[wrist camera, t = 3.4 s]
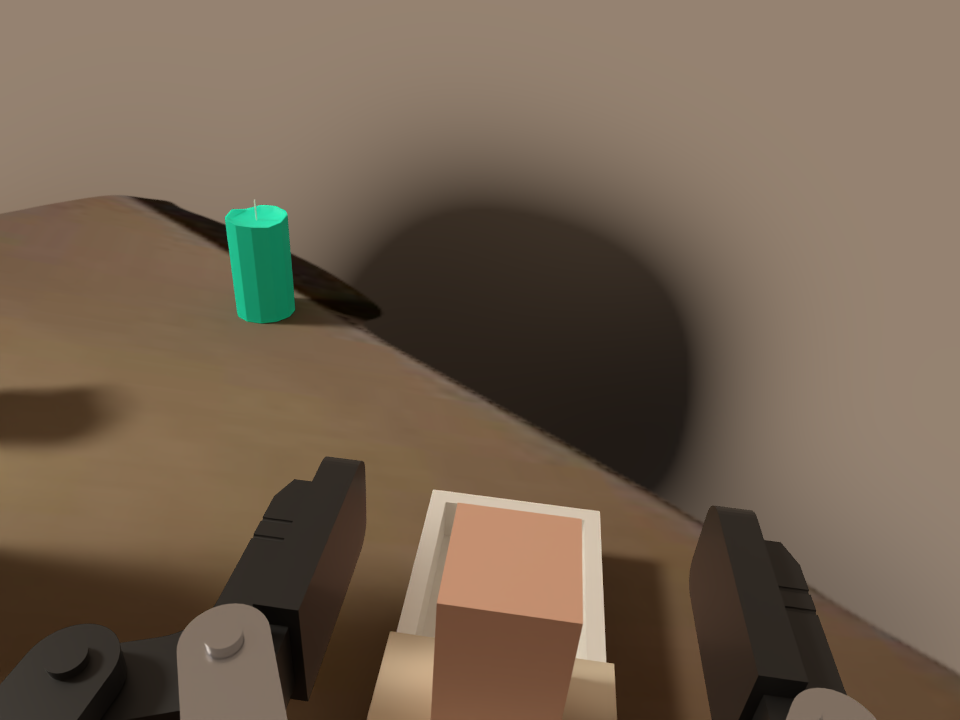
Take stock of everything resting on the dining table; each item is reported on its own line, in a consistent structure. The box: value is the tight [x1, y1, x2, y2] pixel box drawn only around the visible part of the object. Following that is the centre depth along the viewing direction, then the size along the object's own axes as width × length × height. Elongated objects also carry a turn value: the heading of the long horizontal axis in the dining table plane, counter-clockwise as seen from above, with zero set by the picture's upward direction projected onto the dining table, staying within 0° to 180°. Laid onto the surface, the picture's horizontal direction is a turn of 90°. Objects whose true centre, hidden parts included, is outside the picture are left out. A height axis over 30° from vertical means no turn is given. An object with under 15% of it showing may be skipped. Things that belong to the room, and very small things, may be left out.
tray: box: [397, 490, 606, 663], centre depth 42 cm, size 12×11×4 cm
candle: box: [225, 200, 295, 323], centre depth 71 cm, size 6×6×12 cm
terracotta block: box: [431, 503, 583, 720], centre depth 28 cm, size 5×5×10 cm
